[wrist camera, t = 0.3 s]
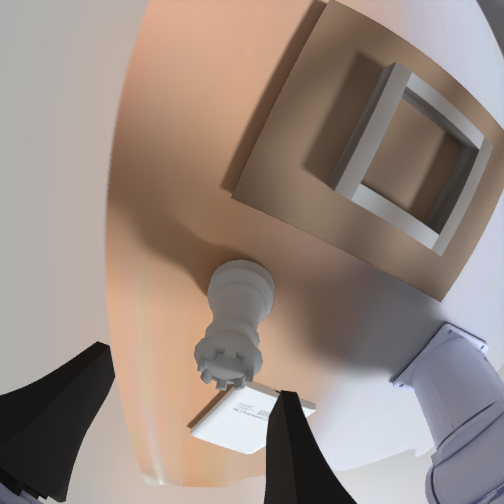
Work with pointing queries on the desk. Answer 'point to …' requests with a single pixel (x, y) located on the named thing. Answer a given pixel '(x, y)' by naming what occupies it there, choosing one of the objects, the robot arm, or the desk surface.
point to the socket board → (378, 154)
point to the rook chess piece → (235, 323)
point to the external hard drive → (242, 418)
